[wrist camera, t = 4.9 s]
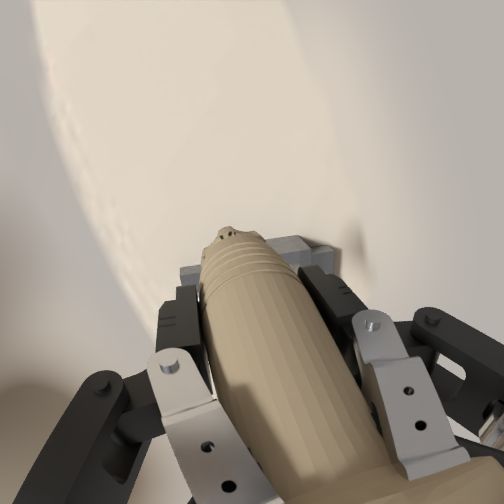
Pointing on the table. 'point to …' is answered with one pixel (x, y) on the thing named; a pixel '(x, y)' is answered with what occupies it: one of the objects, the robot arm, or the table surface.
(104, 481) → the robot arm
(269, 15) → the table surface
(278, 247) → the bracket
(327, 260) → the chain end
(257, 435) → the handle
